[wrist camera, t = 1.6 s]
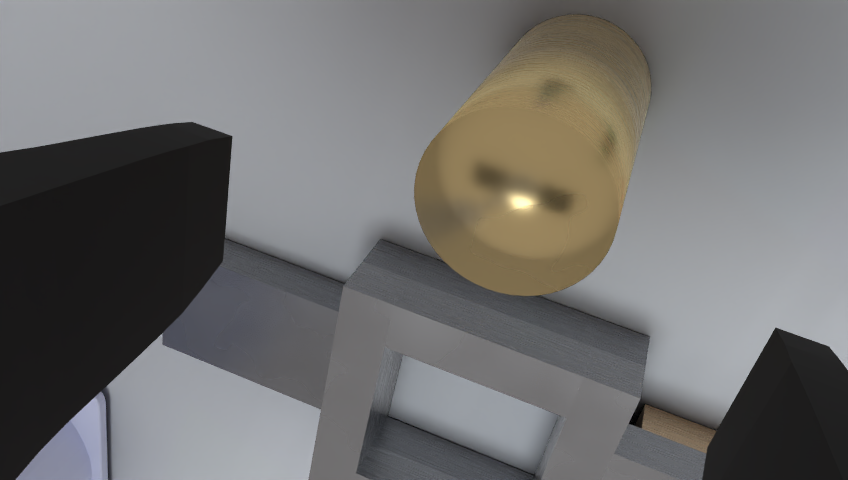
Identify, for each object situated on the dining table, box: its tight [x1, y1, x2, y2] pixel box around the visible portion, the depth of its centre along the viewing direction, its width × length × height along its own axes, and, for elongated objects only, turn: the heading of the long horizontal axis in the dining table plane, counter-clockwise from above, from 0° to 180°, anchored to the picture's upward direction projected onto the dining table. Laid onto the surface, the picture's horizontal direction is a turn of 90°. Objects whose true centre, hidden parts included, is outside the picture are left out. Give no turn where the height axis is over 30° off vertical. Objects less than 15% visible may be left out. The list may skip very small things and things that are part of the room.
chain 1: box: [163, 239, 650, 480], centre depth 22 cm, size 13×7×1 cm, turn 79°
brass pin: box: [414, 14, 651, 296], centre depth 15 cm, size 3×3×6 cm
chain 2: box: [309, 262, 716, 480], centre depth 20 cm, size 13×7×2 cm, turn 79°
